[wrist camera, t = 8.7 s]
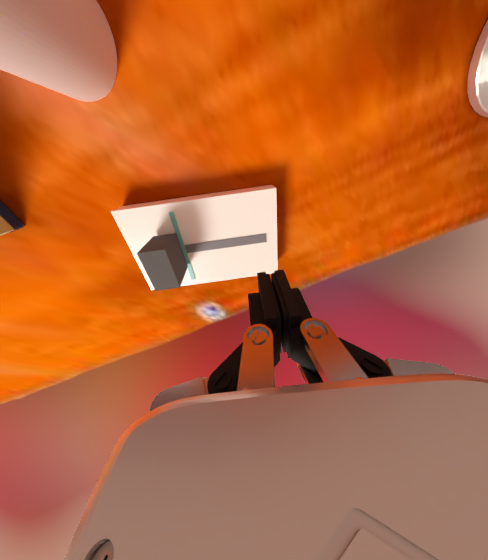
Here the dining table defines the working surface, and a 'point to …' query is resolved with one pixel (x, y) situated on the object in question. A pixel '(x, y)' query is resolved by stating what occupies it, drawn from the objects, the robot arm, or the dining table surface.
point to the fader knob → (164, 261)
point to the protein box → (8, 220)
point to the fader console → (210, 232)
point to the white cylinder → (59, 46)
